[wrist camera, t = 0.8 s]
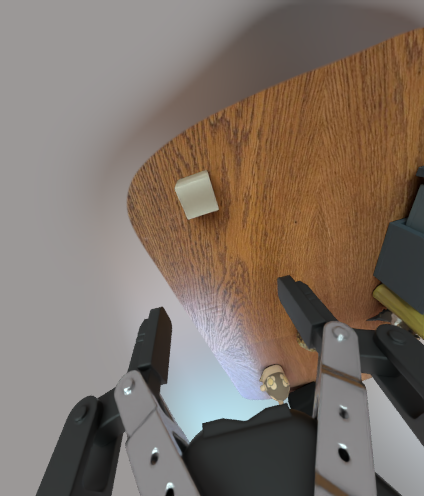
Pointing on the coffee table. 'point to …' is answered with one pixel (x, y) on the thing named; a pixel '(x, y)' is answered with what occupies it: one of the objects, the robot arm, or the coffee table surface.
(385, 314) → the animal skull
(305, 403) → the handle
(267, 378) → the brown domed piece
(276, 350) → the coffee table surface
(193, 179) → the block
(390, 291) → the vase
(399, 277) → the cabinet
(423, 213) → the drawer
